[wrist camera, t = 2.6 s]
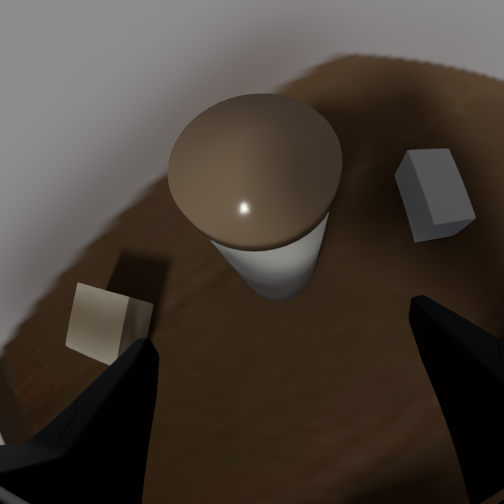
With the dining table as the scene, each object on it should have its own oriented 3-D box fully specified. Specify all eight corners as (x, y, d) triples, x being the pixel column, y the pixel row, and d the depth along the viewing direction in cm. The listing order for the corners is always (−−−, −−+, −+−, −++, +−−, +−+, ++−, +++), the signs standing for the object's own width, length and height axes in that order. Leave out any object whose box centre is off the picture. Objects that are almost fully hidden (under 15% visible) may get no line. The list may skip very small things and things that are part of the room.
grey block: (453, 236, 21) (475, 218, 17) (414, 242, 21) (434, 224, 17) (431, 173, 23) (448, 148, 19) (393, 176, 23) (407, 150, 19)
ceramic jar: (297, 314, 21) (302, 270, 8) (230, 283, 22) (138, 201, 9) (326, 246, 22) (361, 119, 9) (260, 220, 23) (218, 82, 10)
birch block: (142, 364, 21) (115, 367, 18) (95, 346, 22) (65, 345, 19) (154, 304, 23) (129, 296, 19) (106, 291, 24) (77, 282, 20)
